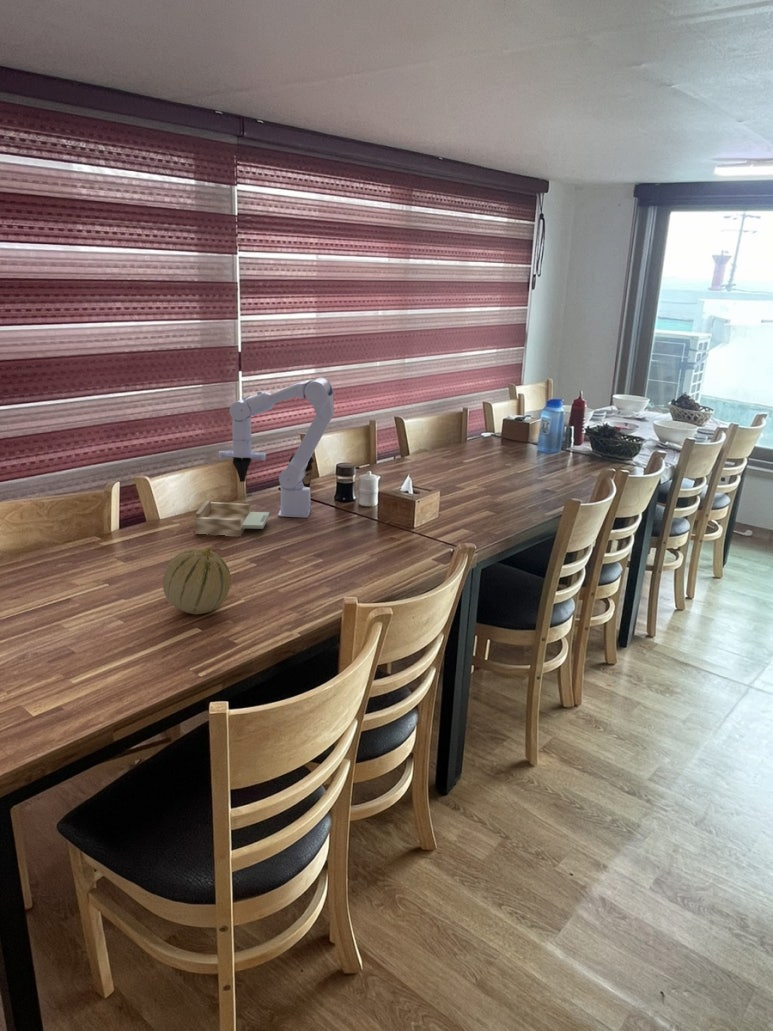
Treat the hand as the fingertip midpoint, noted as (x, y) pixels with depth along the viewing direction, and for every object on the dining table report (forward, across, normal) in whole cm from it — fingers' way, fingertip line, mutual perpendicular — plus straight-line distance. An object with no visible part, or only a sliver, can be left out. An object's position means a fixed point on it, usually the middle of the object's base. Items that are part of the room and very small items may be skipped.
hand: (242, 480), depth 230 cm
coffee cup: (+10, -16, -22) cm, 29 cm away
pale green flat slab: (+7, -4, +17) cm, 19 cm away
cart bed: (+9, +2, +17) cm, 20 cm away
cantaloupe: (+10, -4, +72) cm, 73 cm away
